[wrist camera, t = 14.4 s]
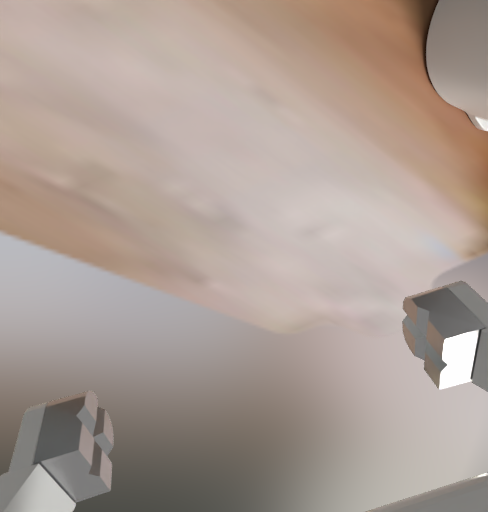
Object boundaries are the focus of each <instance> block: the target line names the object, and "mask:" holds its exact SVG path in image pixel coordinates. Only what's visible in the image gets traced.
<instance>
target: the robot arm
mask: <svg viewBox="0 0 488 512" xmlns="http://www.w3.org/2000/svg"><path fill="white" fill-rule="evenodd" d="M426 61H427V68H428V73H429V77H430V80H431V82H432V84H433V86H434V88H435V90H436V91H437V93H438V94H439V95H440V96H441V97H442V98H443V99H444V100H445V101H446V102H448V103H449V104H451V105H453V106H455V107H457V108H459V109H461V110H463V111H465V112H466V113H467V114H468V116H469V118H470V119H471V121H472V123H473V124H474V125H475V126H476V127H477V128H478V129H481V130H484V131H488V0H439V2H438V4H437V6H436V9H435V11H434V14H433V17H432V20H431V23H430V27H429V32H428V37H427V46H426ZM403 310H404V311H405V312H406V314H407V316H406V317H405V319H404V320H403V321H402V324H403V334H404V337H405V341H406V343H407V345H408V347H409V349H410V350H411V351H412V353H413V354H414V356H416V357H419V358H421V359H423V360H425V362H424V370H425V371H426V373H427V374H428V375H429V377H430V378H431V379H432V381H433V382H434V384H435V385H436V386H437V388H438V389H443V388H447V387H450V386H454V385H457V384H461V383H464V382H468V381H472V383H474V384H475V385H477V386H479V387H481V388H482V389H484V390H486V391H488V303H487V302H486V301H485V300H484V299H483V298H482V297H481V296H480V295H479V294H478V293H477V292H476V291H475V290H473V289H472V288H471V287H470V286H469V285H468V284H467V283H466V282H463V281H459V282H455V283H452V284H449V285H445V286H443V287H438V288H435V289H432V290H428V291H425V292H422V293H419V294H415V295H412V296H409V297H405V299H404V301H403ZM97 404H98V398H97V397H96V395H95V394H94V393H93V391H87V392H83V393H80V394H76V395H72V396H68V397H65V398H61V399H57V400H54V401H50V402H47V403H43V404H40V405H36V406H32V407H29V408H28V409H27V411H26V412H25V413H24V416H23V419H22V423H21V427H20V431H19V435H18V439H17V442H16V446H15V450H14V454H13V457H12V461H11V465H10V468H9V472H8V473H5V474H2V475H1V476H0V512H72V511H73V510H74V508H75V506H76V504H75V503H76V502H79V501H81V500H84V499H87V498H90V497H93V496H96V495H99V494H102V493H105V492H108V491H110V490H111V475H112V463H111V462H110V460H109V459H108V457H107V455H108V454H109V452H110V451H111V449H112V448H113V437H114V436H113V429H112V423H111V420H110V418H109V416H108V414H107V412H106V411H105V410H104V409H102V408H99V407H97ZM366 512H488V472H487V473H484V474H481V475H478V476H475V477H472V478H468V479H465V480H462V481H459V482H456V483H453V484H450V485H447V486H444V487H440V488H437V489H435V490H431V491H428V492H425V493H422V494H419V495H415V496H412V497H409V498H406V499H403V500H400V501H397V502H394V503H391V504H387V505H384V506H381V507H378V508H375V509H372V510H369V511H366Z"/></svg>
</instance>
